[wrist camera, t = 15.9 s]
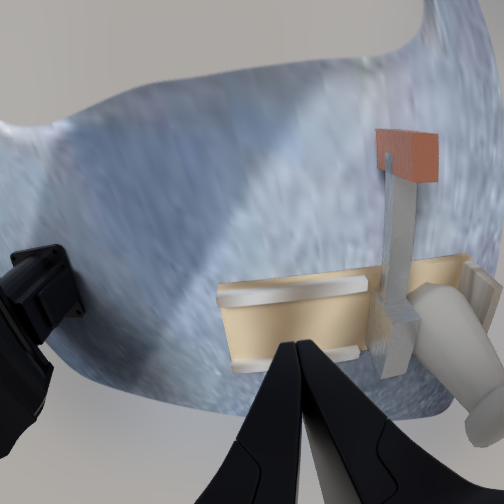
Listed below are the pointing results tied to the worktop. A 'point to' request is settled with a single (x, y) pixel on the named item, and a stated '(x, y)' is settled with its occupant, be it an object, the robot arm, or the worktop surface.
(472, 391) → the salt shaker
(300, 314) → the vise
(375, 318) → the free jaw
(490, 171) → the worktop surface
